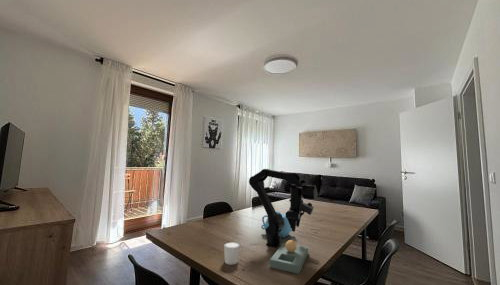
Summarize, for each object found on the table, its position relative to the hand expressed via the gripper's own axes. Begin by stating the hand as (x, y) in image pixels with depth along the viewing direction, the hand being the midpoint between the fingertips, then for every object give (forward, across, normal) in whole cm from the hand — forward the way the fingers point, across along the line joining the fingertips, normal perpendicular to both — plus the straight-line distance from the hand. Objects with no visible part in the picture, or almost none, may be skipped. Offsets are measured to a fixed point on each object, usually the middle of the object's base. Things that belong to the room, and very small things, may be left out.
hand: (295, 229), depth 107 cm
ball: (+5, -10, 0) cm, 12 cm away
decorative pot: (+11, +19, +15) cm, 27 cm away
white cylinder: (+11, -26, +22) cm, 36 cm away
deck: (+10, -12, 0) cm, 16 cm away
